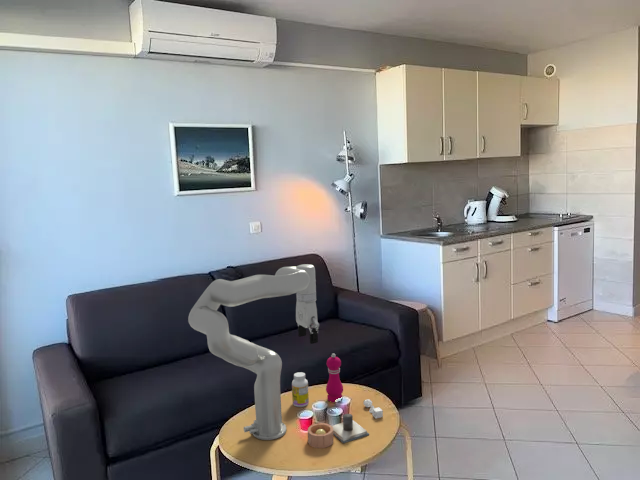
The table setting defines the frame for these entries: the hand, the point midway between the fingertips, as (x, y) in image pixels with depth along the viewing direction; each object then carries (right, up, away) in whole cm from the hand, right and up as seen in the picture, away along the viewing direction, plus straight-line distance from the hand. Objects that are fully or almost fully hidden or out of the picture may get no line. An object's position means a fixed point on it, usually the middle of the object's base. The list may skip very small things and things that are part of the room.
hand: (308, 339), depth 206 cm
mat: (+15, -32, -12) cm, 37 cm away
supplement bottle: (-3, -29, +12) cm, 32 cm away
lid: (+15, -32, -12) cm, 37 cm away
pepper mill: (+11, -28, +16) cm, 34 cm away
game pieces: (+26, -30, +4) cm, 39 cm away
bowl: (+5, -33, -17) cm, 38 cm away
